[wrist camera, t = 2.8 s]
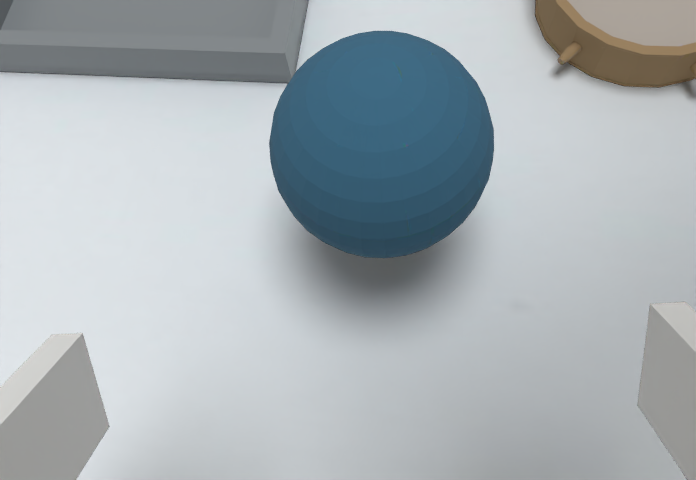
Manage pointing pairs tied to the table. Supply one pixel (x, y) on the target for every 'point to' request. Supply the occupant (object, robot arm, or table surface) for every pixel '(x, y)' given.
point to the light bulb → (381, 144)
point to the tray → (154, 38)
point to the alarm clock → (623, 38)
